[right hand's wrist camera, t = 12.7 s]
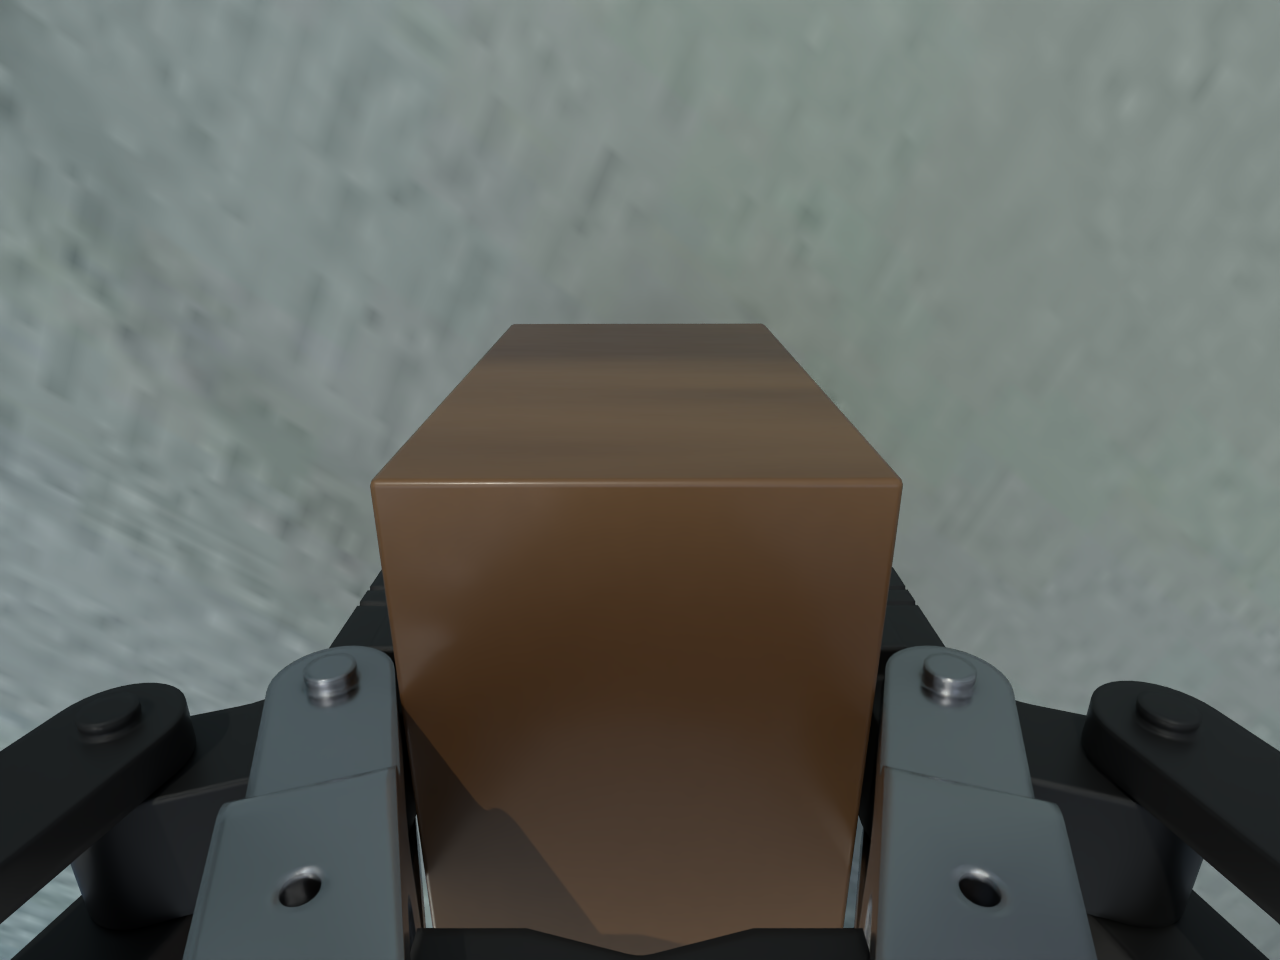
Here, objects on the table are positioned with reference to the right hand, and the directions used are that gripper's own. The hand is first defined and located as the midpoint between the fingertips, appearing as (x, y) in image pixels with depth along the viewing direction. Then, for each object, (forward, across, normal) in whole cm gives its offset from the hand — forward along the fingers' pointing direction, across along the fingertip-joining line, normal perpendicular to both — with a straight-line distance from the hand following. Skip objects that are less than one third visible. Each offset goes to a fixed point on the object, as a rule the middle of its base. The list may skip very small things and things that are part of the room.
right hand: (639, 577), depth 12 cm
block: (+3, 0, -8) cm, 8 cm away
